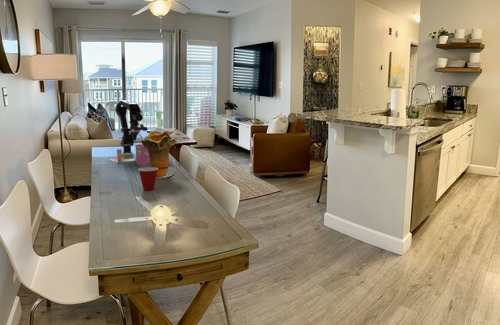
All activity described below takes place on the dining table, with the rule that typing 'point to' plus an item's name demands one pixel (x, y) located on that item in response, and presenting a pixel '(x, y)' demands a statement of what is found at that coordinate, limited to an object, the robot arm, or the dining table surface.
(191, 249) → the dining table surface
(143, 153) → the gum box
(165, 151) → the decorative vase
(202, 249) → the dining table surface
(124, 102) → the robot arm
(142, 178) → the plastic cup
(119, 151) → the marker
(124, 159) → the square board tray
